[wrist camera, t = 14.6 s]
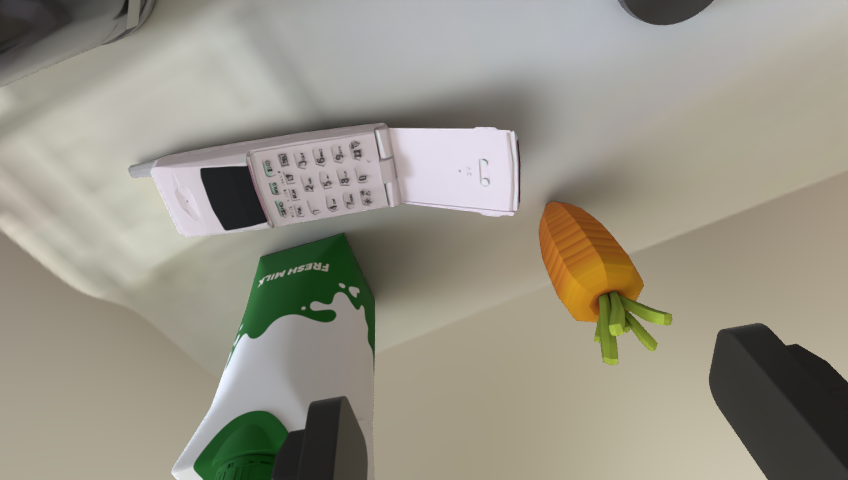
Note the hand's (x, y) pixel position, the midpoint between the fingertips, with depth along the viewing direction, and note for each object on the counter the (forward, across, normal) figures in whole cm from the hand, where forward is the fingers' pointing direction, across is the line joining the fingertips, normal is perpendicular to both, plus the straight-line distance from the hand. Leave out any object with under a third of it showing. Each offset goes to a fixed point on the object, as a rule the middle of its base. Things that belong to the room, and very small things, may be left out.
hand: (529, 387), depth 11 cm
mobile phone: (+25, +9, +4) cm, 27 cm away
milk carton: (+25, +12, +14) cm, 31 cm away
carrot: (+25, -7, +11) cm, 28 cm away
